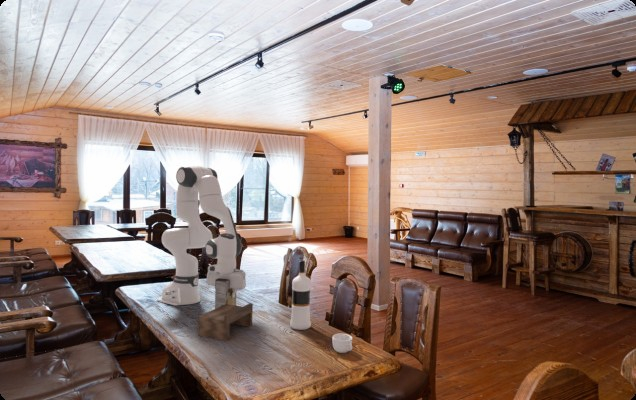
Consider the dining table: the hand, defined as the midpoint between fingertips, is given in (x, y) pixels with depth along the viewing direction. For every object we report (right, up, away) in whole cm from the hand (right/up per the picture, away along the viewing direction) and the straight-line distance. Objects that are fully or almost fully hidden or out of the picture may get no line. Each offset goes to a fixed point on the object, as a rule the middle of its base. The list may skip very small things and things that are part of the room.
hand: (225, 296), depth 202 cm
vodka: (+36, -11, -14) cm, 40 cm away
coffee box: (0, -7, 0) cm, 7 cm away
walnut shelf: (+5, -10, -21) cm, 24 cm away
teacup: (+54, -13, -40) cm, 68 cm away
